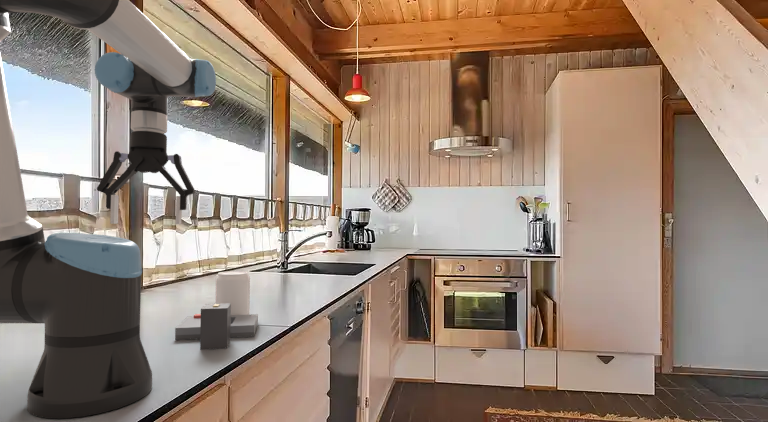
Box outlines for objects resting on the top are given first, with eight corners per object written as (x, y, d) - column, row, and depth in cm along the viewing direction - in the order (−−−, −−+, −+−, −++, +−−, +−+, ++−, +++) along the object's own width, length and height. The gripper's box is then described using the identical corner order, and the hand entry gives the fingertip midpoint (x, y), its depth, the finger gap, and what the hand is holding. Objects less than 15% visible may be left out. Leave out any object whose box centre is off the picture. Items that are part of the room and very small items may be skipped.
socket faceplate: (253, 336, 98) (254, 322, 98) (175, 339, 95) (175, 325, 95) (257, 324, 109) (258, 311, 109) (187, 327, 106) (187, 313, 106)
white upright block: (256, 319, 114) (256, 272, 114) (229, 326, 107) (230, 275, 108) (234, 315, 119) (235, 270, 119) (208, 321, 112) (208, 273, 112)
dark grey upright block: (226, 348, 90) (227, 307, 90) (200, 349, 89) (200, 307, 89) (230, 341, 95) (230, 302, 95) (205, 342, 94) (205, 303, 94)
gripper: (208, 138, 112) (206, 224, 111) (95, 132, 106) (92, 223, 105) (203, 132, 105) (201, 224, 104) (82, 126, 99) (79, 223, 98)
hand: (146, 224), depth 105 cm, fingers open, 13 cm apart
